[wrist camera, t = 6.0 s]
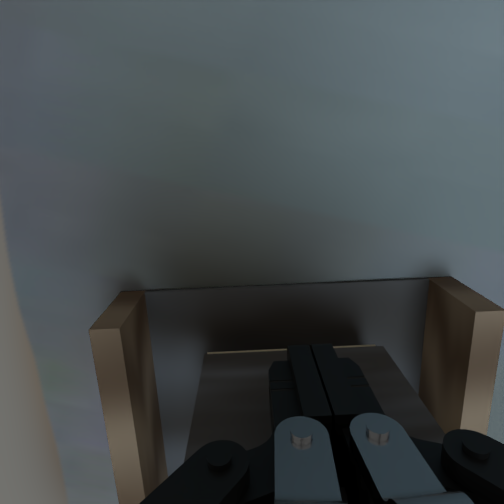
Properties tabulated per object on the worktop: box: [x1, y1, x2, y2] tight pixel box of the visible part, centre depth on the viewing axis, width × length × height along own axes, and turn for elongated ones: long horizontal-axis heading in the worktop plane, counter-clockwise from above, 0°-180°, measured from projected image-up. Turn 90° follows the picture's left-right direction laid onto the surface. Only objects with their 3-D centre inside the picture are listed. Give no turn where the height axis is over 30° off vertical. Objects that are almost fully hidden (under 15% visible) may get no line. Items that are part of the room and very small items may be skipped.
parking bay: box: [89, 277, 504, 504], centre depth 19 cm, size 19×16×4 cm
